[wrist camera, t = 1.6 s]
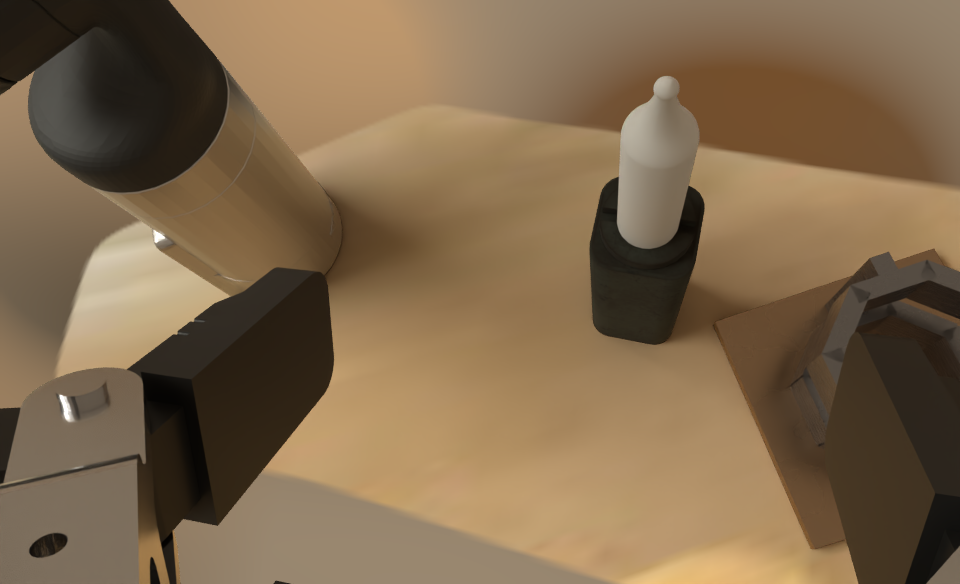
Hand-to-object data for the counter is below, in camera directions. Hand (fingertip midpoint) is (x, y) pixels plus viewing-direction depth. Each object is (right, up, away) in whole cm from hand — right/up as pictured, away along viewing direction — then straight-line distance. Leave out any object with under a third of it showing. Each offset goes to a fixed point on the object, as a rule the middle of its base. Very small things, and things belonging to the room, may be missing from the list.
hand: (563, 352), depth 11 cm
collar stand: (+22, -5, +33) cm, 40 cm away
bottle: (+9, 0, +37) cm, 38 cm away
